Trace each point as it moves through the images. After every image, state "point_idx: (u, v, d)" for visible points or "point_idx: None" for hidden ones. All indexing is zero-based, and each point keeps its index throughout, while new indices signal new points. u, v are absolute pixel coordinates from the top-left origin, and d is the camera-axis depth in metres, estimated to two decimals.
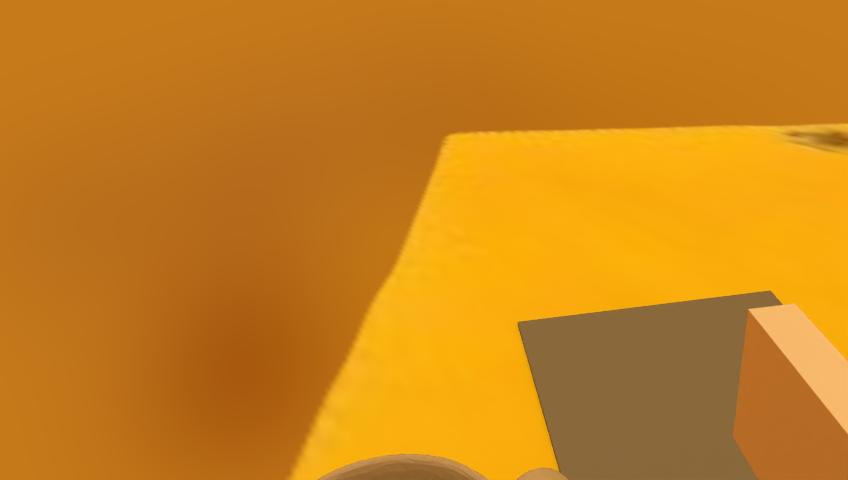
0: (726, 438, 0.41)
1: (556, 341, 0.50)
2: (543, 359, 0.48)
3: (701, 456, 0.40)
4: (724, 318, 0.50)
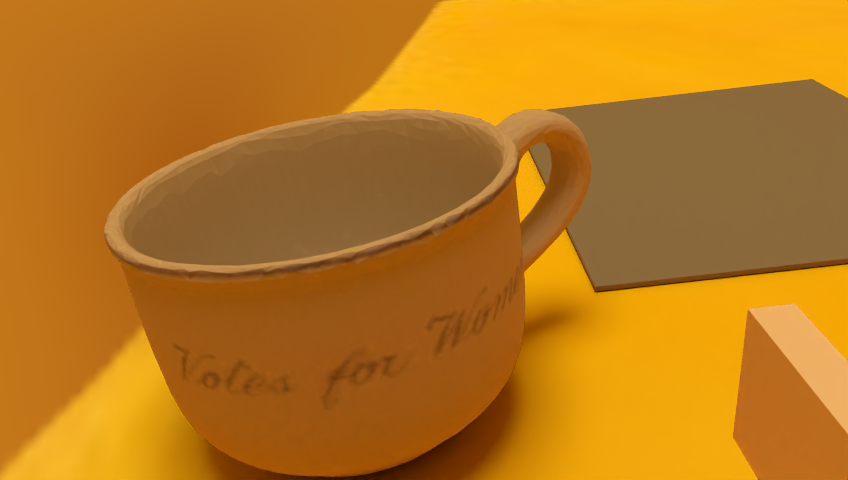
0: (770, 184, 0.32)
1: None
2: None
3: (739, 199, 0.32)
4: (759, 100, 0.42)
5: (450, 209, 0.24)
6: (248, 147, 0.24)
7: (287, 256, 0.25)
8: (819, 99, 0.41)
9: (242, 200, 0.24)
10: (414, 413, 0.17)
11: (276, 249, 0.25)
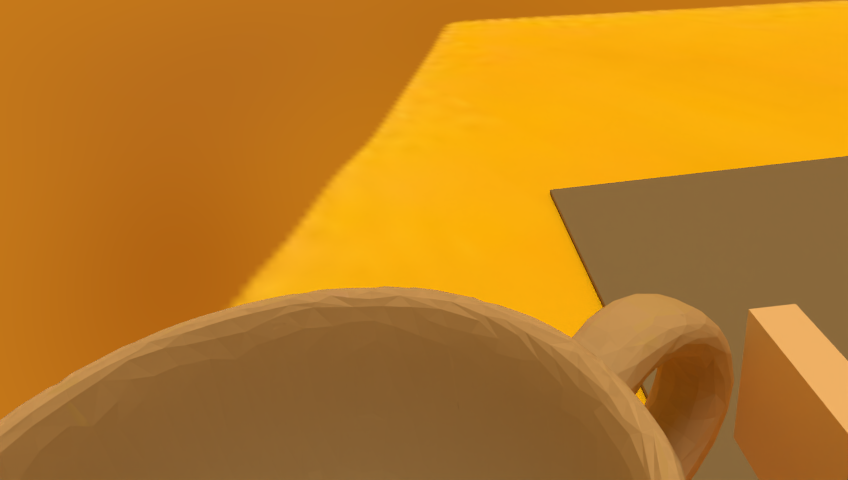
0: None
1: (613, 210, 0.32)
2: (594, 232, 0.30)
3: None
4: None
5: (493, 451, 0.14)
6: (141, 366, 0.14)
7: None
8: None
9: (135, 455, 0.14)
10: None
11: None
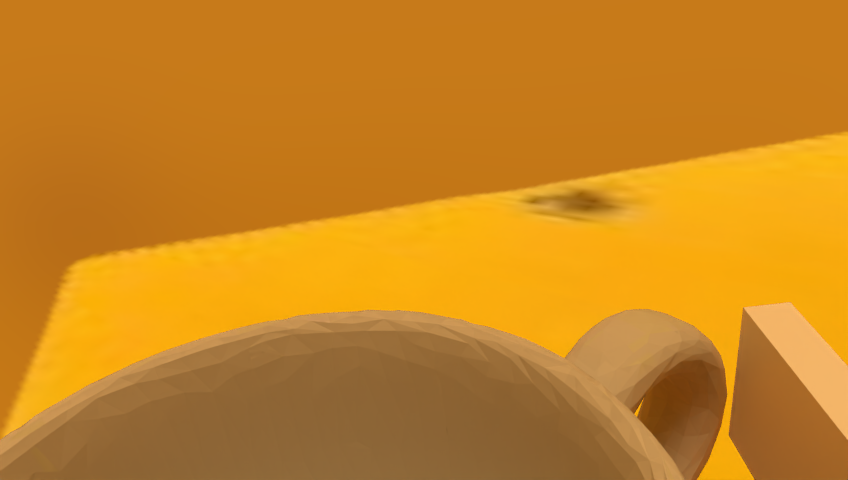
0: None
1: None
2: None
3: None
4: None
5: (484, 477, 0.14)
6: (111, 403, 0.13)
7: None
8: None
9: None
10: None
11: None
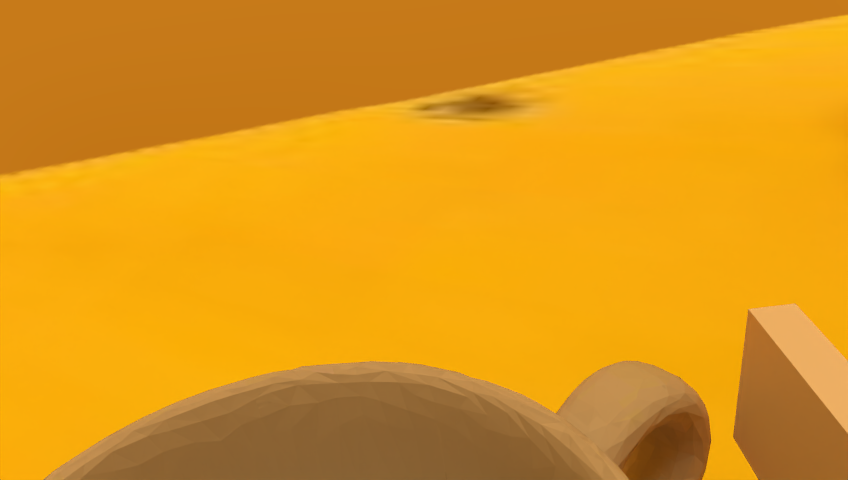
0: None
1: None
2: None
3: None
4: None
5: None
6: (126, 456, 0.13)
7: None
8: None
9: None
10: None
11: None
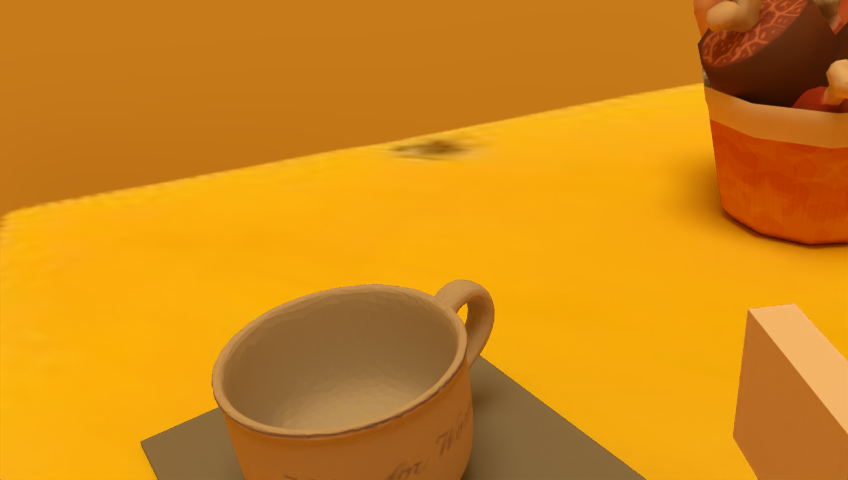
0: None
1: (198, 453, 0.37)
2: None
3: None
4: None
5: (407, 346, 0.36)
6: (269, 322, 0.34)
7: (294, 389, 0.36)
8: None
9: (267, 358, 0.35)
10: None
11: (287, 386, 0.36)
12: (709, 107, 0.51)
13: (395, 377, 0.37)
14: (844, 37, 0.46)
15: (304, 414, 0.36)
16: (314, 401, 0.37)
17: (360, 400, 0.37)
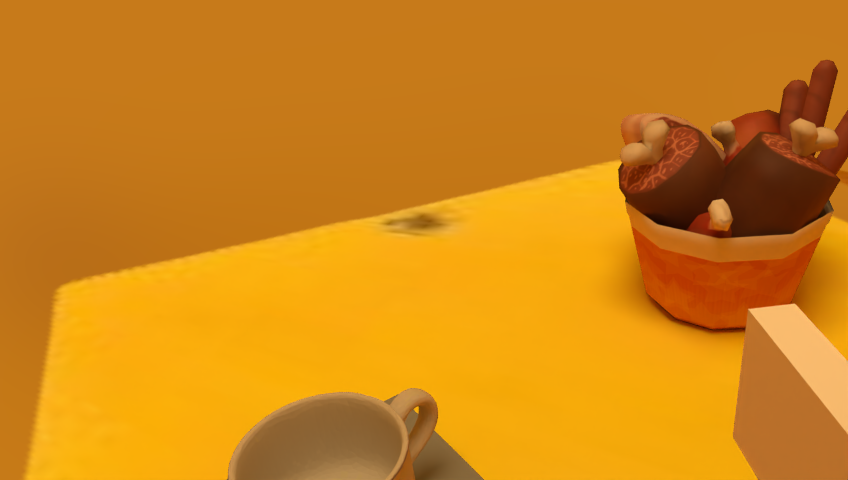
0: None
1: None
2: None
3: None
4: None
5: (373, 437, 0.48)
6: (269, 423, 0.47)
7: (290, 469, 0.49)
8: (406, 426, 0.56)
9: (268, 449, 0.47)
10: None
11: (284, 467, 0.48)
12: (630, 217, 0.63)
13: (365, 458, 0.50)
14: (730, 171, 0.58)
15: None
16: (305, 476, 0.49)
17: (339, 475, 0.50)
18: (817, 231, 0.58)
